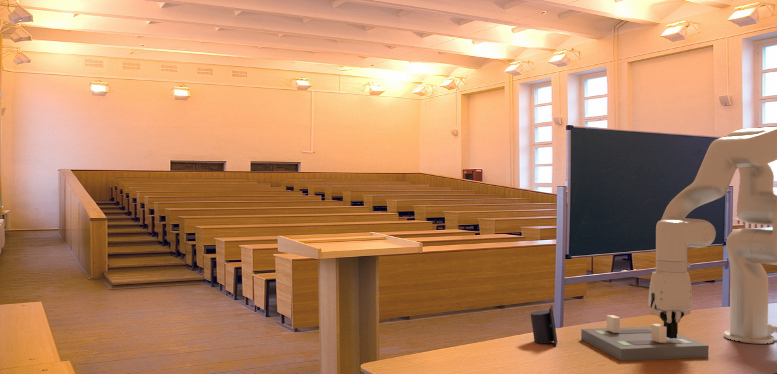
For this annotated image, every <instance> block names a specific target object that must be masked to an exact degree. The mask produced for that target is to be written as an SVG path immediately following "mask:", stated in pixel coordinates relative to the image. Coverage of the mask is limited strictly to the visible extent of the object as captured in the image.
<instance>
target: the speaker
mask: <svg viewBox="0 0 777 374" xmlns="http://www.w3.org/2000/svg"><path fill="white" fill-rule="evenodd" d="M529 315H530V319H531V320H530V321H531V327H532V333H533V341H534V343H536V344H548V343H553V345H554V346H553V347H557V345H558V336H557V335H558V334H557V331H556V323H555V317H554V310H553V305H552V304H551V305H550V306H549V309H546V310H545V309H544V310H542V309H541V310H536V311H531V313H530V314H529Z"/></svg>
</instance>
